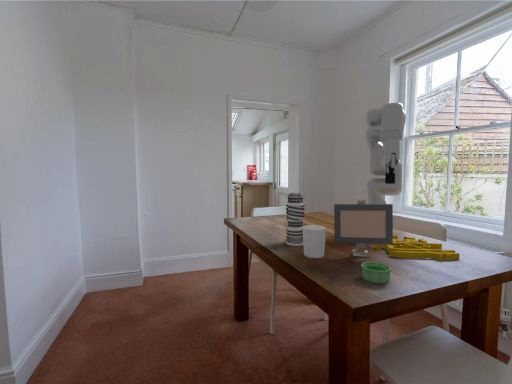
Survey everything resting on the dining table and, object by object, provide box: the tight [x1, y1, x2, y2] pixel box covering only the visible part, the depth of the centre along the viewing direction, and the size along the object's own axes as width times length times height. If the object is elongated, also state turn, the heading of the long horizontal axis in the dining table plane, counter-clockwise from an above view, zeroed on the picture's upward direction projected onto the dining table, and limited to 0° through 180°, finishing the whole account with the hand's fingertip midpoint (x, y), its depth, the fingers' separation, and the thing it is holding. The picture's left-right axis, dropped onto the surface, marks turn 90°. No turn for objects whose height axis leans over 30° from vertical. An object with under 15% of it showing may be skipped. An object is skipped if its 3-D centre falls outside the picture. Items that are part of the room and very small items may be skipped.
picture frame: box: [333, 203, 394, 245], centre depth 109 cm, size 2×22×16 cm, turn 75°
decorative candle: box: [285, 192, 306, 247], centre depth 132 cm, size 9×9×25 cm
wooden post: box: [351, 198, 370, 258], centre depth 112 cm, size 4×6×24 cm
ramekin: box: [360, 261, 392, 284], centre depth 87 cm, size 9×9×4 cm
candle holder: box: [302, 224, 327, 259], centre depth 113 cm, size 10×10×12 cm
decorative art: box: [374, 234, 461, 262], centre depth 123 cm, size 34×3×30 cm
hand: (389, 183), depth 105 cm, fingers closed
